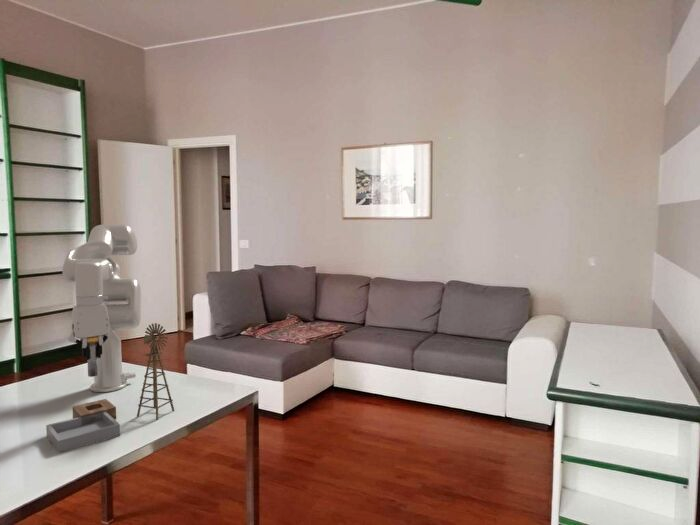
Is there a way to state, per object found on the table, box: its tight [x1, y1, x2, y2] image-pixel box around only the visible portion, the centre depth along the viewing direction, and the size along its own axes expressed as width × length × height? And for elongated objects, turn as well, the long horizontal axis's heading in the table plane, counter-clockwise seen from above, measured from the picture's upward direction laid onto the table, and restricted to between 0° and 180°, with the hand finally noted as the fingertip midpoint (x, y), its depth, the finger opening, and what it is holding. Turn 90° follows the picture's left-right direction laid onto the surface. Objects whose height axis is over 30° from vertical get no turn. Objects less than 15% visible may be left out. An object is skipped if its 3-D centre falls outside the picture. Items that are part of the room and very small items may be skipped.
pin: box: [86, 336, 99, 378], centre depth 153 cm, size 4×4×12 cm
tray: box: [45, 412, 121, 453], centre depth 142 cm, size 16×14×3 cm
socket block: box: [71, 398, 117, 425], centre depth 154 cm, size 10×10×4 cm
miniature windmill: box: [136, 322, 175, 421], centre depth 157 cm, size 9×8×30 cm
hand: (92, 357), depth 153 cm, fingers closed on pin, 2 cm apart
